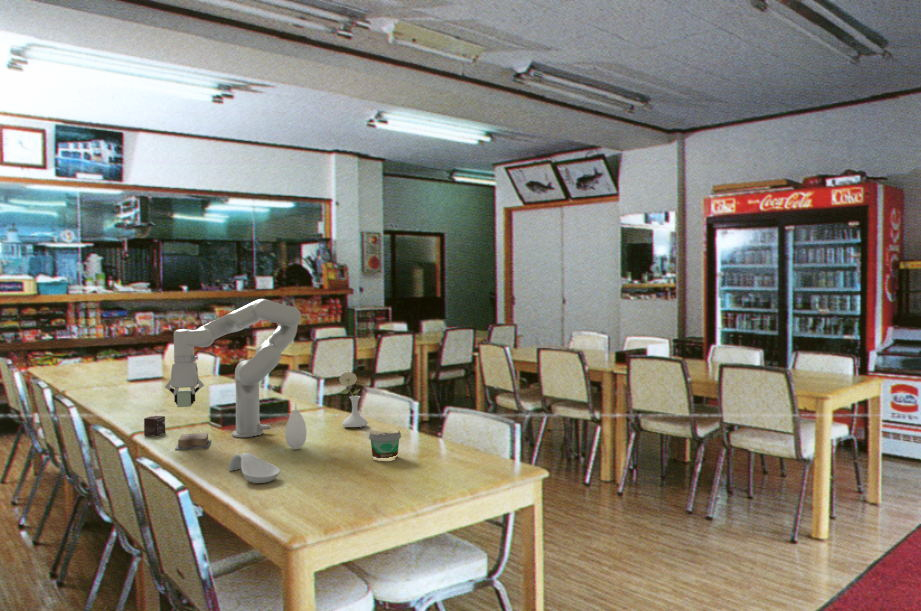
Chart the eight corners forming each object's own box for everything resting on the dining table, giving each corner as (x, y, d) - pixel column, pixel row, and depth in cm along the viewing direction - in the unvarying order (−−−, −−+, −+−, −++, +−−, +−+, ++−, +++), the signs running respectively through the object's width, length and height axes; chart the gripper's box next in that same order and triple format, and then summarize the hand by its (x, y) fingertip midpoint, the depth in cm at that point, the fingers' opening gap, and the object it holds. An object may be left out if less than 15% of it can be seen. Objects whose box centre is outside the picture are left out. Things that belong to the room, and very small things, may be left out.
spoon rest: (287, 481, 215) (286, 460, 215) (255, 490, 206) (254, 467, 206) (248, 467, 231) (248, 447, 231) (217, 474, 222) (217, 453, 222)
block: (192, 404, 270) (192, 389, 270) (190, 406, 265) (190, 392, 265) (179, 404, 269) (179, 390, 268) (177, 407, 264) (177, 392, 264)
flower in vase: (370, 424, 299) (370, 370, 298) (364, 430, 287) (364, 374, 286) (342, 423, 300) (342, 369, 299) (335, 429, 289) (335, 373, 288)
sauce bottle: (281, 450, 252) (281, 404, 252) (293, 445, 260) (293, 401, 259) (298, 452, 250) (298, 406, 249) (310, 447, 257) (310, 402, 256)
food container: (374, 464, 235) (374, 436, 235) (368, 460, 240) (368, 433, 240) (406, 460, 241) (406, 433, 240) (399, 456, 246) (400, 429, 246)
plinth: (211, 440, 267) (210, 432, 267) (208, 448, 255) (208, 439, 255) (179, 442, 263) (179, 433, 263) (175, 450, 252) (175, 441, 252)
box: (156, 436, 274) (156, 419, 274) (143, 435, 275) (143, 418, 275) (165, 433, 280) (165, 416, 280) (153, 432, 281) (153, 415, 281)
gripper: (207, 357, 272) (208, 401, 273) (163, 359, 268) (164, 403, 268) (205, 360, 265) (206, 404, 265) (159, 361, 260) (160, 406, 261)
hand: (185, 403), depth 267 cm, fingers closed on block, 5 cm apart
